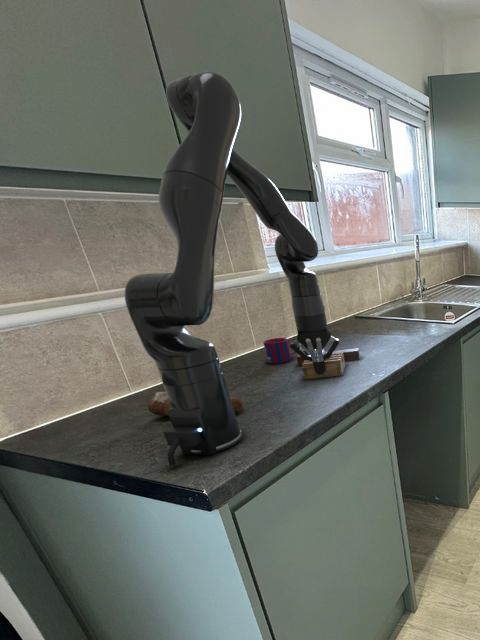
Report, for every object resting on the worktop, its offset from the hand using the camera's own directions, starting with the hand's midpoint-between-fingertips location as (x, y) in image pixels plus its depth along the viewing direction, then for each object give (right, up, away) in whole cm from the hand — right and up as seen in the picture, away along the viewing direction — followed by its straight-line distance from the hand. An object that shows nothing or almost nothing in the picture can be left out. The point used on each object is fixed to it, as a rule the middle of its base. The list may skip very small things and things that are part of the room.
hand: (321, 373), depth 116 cm
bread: (-19, -10, -19) cm, 29 cm away
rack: (-1, +1, +6) cm, 6 cm away
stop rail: (-4, +4, +15) cm, 16 cm away
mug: (-20, +5, +18) cm, 28 cm away
